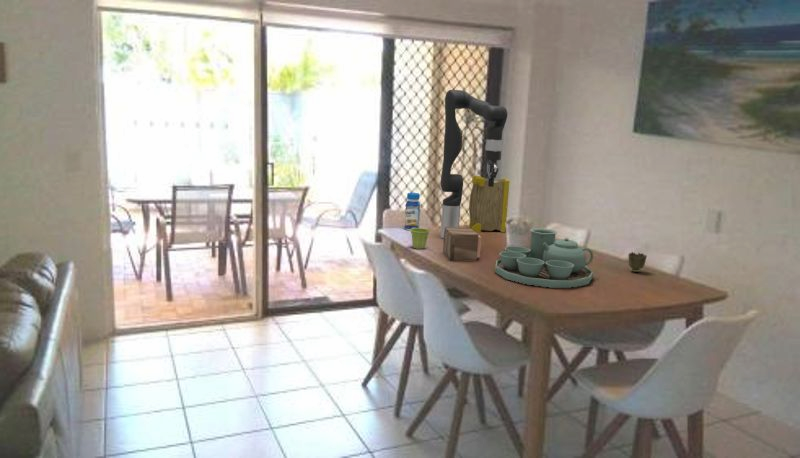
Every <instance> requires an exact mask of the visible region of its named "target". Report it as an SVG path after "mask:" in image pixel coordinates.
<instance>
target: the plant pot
mask: <svg viewBox="0 0 800 458" xmlns="http://www.w3.org/2000/svg"><path fill="white" fill-rule="evenodd" d="M409 231H410V233H411V242H412V248H414V249H417V250H422V249H425V248H426V245H427V240H428V236H429V234H430V232H431V231H430V230H429V229H428V228H422V227H419V228H412V229H410V230H409Z"/></svg>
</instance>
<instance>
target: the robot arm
mask: <svg viewBox="0 0 800 458" xmlns="http://www.w3.org/2000/svg"><path fill="white" fill-rule="evenodd" d="M461 109H462V110H463V109H465V110H466V109H467V110H470V111H471V112H472V113H473V114H475V115H478V116H480V117H482V118H483V119H484V120H486V121H488V122H494V125H493V126H489V127H488V128H487V129H486V141H485V148H484V149H485V150H484V159H485V160H487V163H486V164H487V165H486V166H485V169H486V176H487V179H489V180H488V186H489V187H493V185H494V181H495V179H496V177H497V174H498V172H499V168H498V161H501V160H502V149H503V148H502V147H503V143H502V142H503V141H502V140H503V131H504V129H505V125H506V122H507V120H508V110H507V108H506V107H505V106H503V105H502V106H501V105H493V104H491V103H490V102H487V101H485V100H482V99H478V98H477V97H474V96H473V95H472V94H470V93H469V92H467V91H465V90H462V89H461V90H460V89H449V90H447V92H446V93H445V96H444V116H445V119H444V120H445V121H444V138H443V158H442V159H443V160H442V167H441V173H440V175H441V176H440V189H441V191H442V192H443V193H451V194H450V195H449V196H447V197H444V198H443V200H442V207H441V208H442V211H441V223H440V224H441V225H440V226H441V227H440V228H441V229H440V238H441V239H444V231H445V227H460V218H461V217H460V216H461V203H462V199H463V192H464V191H463V190H464V178H463V176H462V174H459V173H458V174H457V173H451V171H452V167H453V164H454V162H455V161H456V160H457V158H458V156H459V155H460V153H461V152H462V149H463V139H464V138H463V133H462V130H461V128H460V126H459V124H458V121H457V118H456V110H461Z"/></svg>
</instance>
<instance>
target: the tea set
mask: <svg viewBox="0 0 800 458" xmlns="http://www.w3.org/2000/svg"><path fill="white" fill-rule="evenodd" d="M529 231H530V240H529V241H530V244H529V248H527V247H525V246H520V245H518V246H517V245H512V246H511V245H510V246H508V245H507V246H506V247H504V251H500V252H499V257H500V258H499V259H497V260H496V261H495V266H494V271H495V273H496V274H497V275H499V276H500V277H502V279H505V280H507V281H510V280H511V282H514V281H515V283H518V282H519V283H518V284H521V283H522V285H525V284H527V285H526V286H531V285H534V286H533V287H538V286H541V288H546V287H549V288H548V289H572V288H571V287H574V288H579V287H582V285H583V286H588V285H589V284H590V282H591V280H592V279H593V278H594V271H593V270H592V269H590V268H589V267H587V265H590V264H591V263H592V261H593V259H594V252H593V251H592V249H590V248H589V247H582V248H581V247H580V246H578V244H579V243H578V242H576V241H575V240H571V239H569V238H567V237H565V238H562V239H560V238H559V239H556V235H557V233H558V231H557V230H554V229H550V228H541V227H540V228H536V227H535V228H531V229H530V230H529ZM585 251H587V252H589V254H590V258H589V260H588V261H587V255H586V253H585ZM587 284H588V285H587ZM578 286H579V287H578Z"/></svg>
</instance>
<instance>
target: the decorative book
mask: <svg viewBox="0 0 800 458" xmlns="http://www.w3.org/2000/svg"><path fill="white" fill-rule="evenodd" d="M488 180H489V178H485V177H482V176H481V175H472V181H471V182H472V183H471V184H472V187H471V191H470V195H469V203H468V204H469V205H468V211H469V225H468V226H469V227H468V228H471V229H472V230H473V231H475V232H476V233H481V232H482V231H489V232H492V231H494V230H497V231H500V233H505V232H506V229H505V222H506V223H507V217H508V203H509V193H510V192H509V191H510V180H509V179H507V178H503V177H501V178H500V179H496V180H495V179H494V185H493V187H489V186H488Z"/></svg>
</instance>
